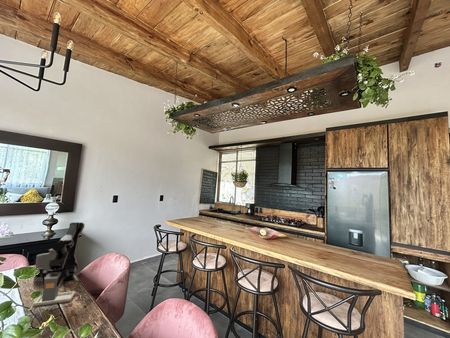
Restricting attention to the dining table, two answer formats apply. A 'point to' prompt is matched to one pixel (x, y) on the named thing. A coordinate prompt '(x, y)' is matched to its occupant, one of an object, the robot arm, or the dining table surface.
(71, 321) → the dining table surface
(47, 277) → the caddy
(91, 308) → the dining table surface
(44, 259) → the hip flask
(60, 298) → the tray
